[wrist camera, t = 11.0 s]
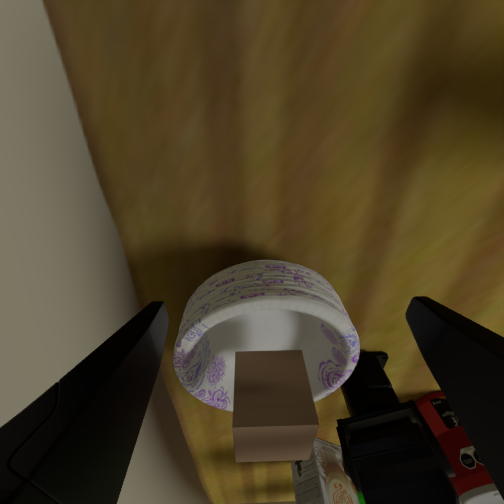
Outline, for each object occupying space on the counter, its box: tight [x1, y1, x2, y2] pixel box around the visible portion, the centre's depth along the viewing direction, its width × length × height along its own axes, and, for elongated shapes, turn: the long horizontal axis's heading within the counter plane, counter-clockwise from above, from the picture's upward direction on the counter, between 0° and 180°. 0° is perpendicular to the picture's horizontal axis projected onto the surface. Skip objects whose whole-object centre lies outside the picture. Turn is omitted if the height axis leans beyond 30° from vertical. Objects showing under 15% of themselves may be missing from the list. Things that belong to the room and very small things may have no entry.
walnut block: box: [233, 350, 319, 462], centre depth 17 cm, size 5×5×5 cm
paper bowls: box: [173, 260, 360, 412], centre depth 23 cm, size 15×15×8 cm
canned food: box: [415, 391, 504, 504], centre depth 34 cm, size 8×8×11 cm
